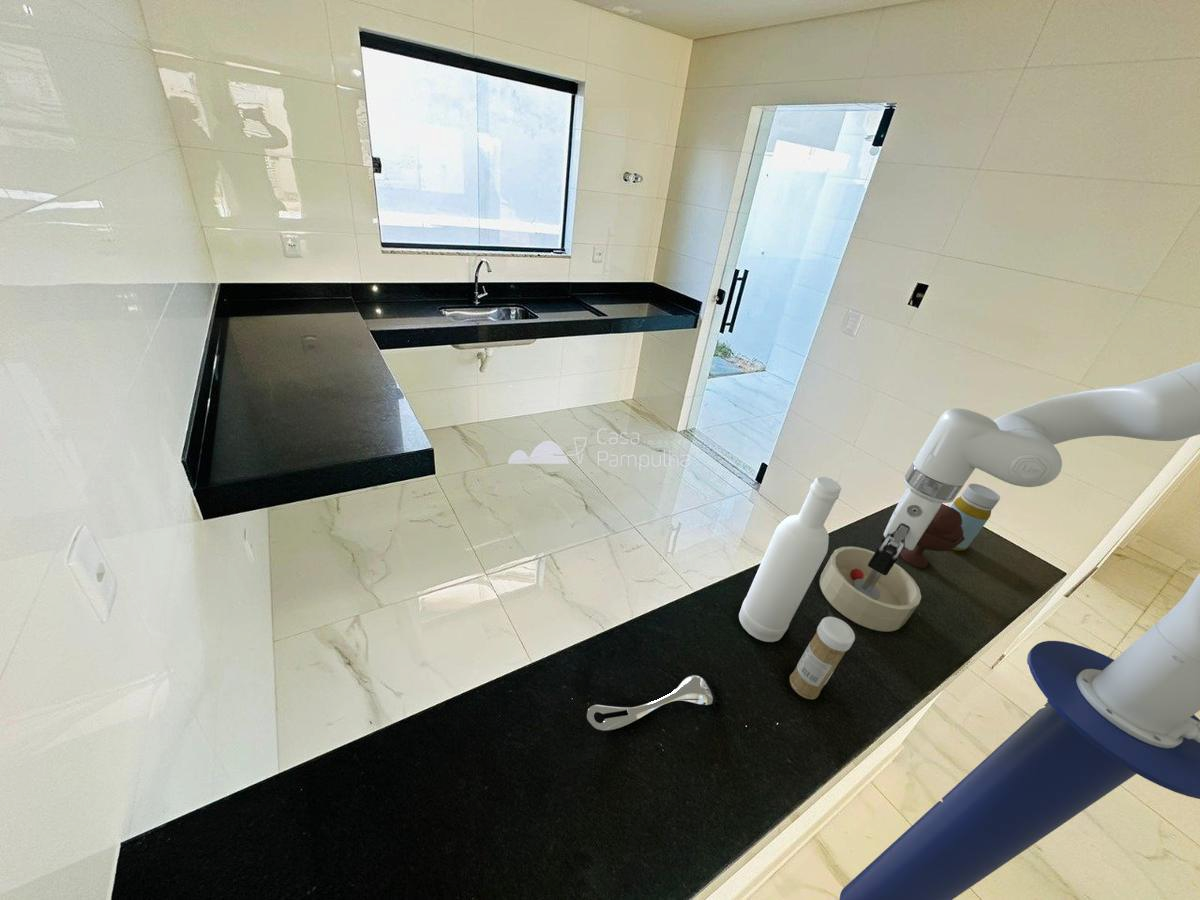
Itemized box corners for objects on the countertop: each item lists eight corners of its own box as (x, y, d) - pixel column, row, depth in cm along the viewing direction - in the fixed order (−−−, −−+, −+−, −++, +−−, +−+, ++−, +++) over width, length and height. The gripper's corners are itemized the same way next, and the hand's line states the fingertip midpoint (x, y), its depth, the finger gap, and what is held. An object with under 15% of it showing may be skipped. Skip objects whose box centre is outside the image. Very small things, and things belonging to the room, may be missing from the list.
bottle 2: (967, 543, 111) (1004, 493, 103) (963, 556, 106) (1001, 505, 98) (935, 528, 114) (968, 478, 107) (929, 540, 110) (963, 489, 102)
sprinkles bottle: (825, 694, 70) (863, 637, 63) (803, 704, 68) (841, 646, 61) (802, 668, 74) (836, 611, 67) (781, 677, 72) (814, 619, 65)
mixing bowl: (912, 601, 91) (928, 579, 88) (894, 647, 80) (911, 624, 77) (833, 557, 99) (845, 535, 96) (807, 593, 88) (819, 571, 85)
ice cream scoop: (595, 727, 57) (584, 692, 61) (589, 743, 59) (579, 707, 62) (727, 695, 65) (710, 665, 68) (719, 710, 66) (703, 680, 70)
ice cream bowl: (948, 566, 102) (987, 513, 95) (926, 583, 96) (966, 528, 88) (901, 536, 109) (933, 485, 102) (878, 550, 103) (910, 497, 96)
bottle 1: (756, 648, 76) (828, 503, 61) (729, 610, 82) (788, 470, 67) (793, 637, 79) (871, 496, 64) (764, 601, 85) (828, 465, 70)
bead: (862, 579, 93) (867, 571, 92) (858, 585, 91) (864, 576, 90) (850, 572, 94) (855, 564, 93) (846, 578, 93) (851, 569, 92)
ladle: (878, 596, 90) (910, 546, 83) (872, 609, 86) (905, 558, 80) (853, 582, 92) (882, 532, 86) (846, 594, 89) (876, 543, 82)
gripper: (950, 513, 68) (894, 593, 77) (964, 475, 80) (915, 548, 88) (896, 488, 72) (848, 567, 80) (917, 456, 84) (874, 527, 92)
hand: (883, 557), depth 84 cm, fingers open, 9 cm apart
